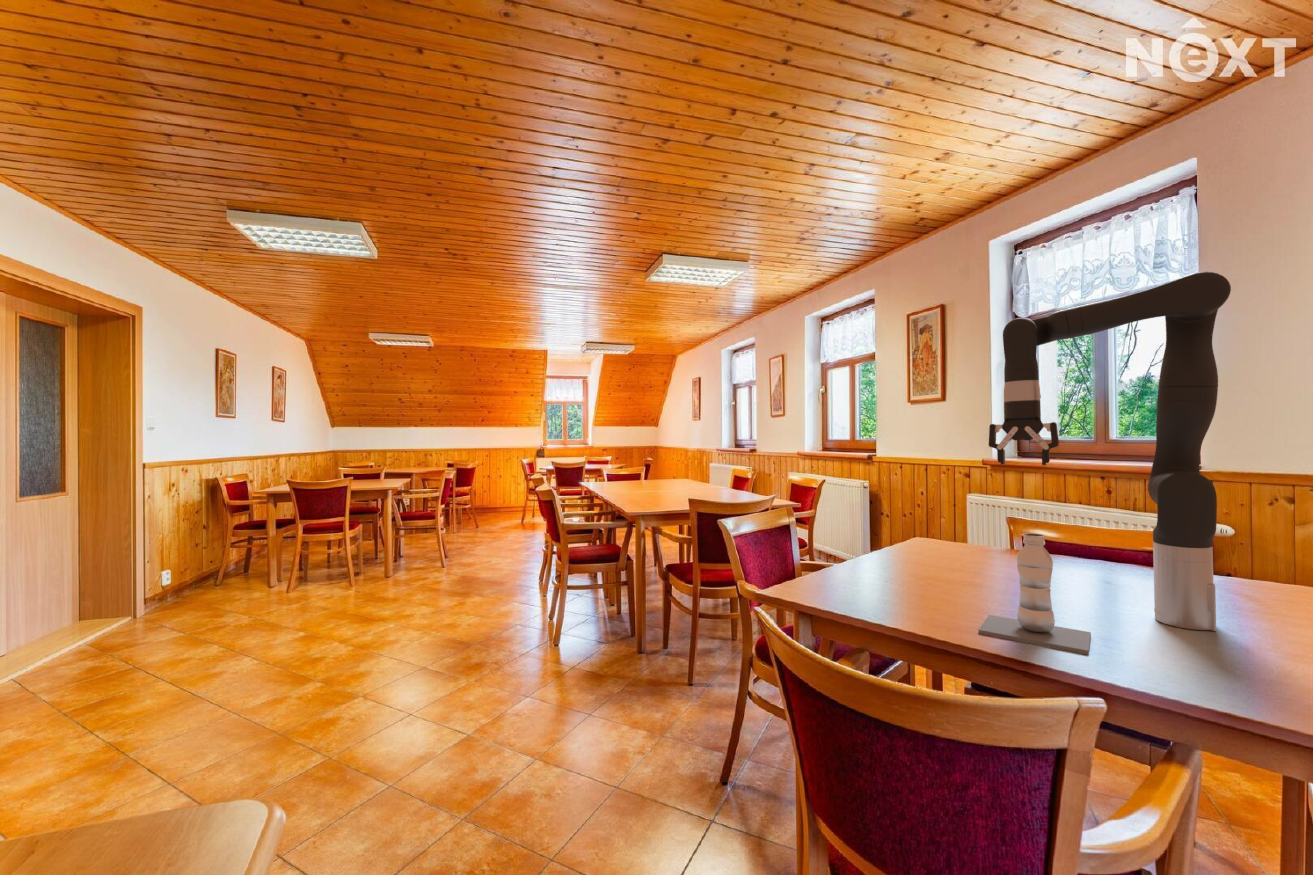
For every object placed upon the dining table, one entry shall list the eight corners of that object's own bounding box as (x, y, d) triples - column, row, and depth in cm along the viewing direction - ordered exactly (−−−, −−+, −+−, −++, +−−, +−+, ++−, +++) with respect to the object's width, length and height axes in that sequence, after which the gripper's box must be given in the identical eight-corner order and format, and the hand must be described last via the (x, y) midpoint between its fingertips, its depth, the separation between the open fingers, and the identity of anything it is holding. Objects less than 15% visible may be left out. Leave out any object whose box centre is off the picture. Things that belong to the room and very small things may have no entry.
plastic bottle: (1056, 629, 111) (1054, 533, 111) (1054, 638, 106) (1051, 538, 106) (1019, 622, 115) (1017, 530, 116) (1015, 631, 110) (1013, 535, 110)
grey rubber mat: (1090, 636, 109) (1090, 632, 109) (1088, 654, 100) (1088, 650, 100) (989, 618, 121) (989, 614, 121) (978, 633, 112) (978, 629, 112)
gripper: (985, 401, 134) (987, 465, 134) (1056, 397, 125) (1057, 466, 125) (991, 402, 140) (992, 463, 140) (1058, 398, 130) (1060, 464, 130)
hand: (1023, 464), depth 132 cm, fingers open, 8 cm apart
